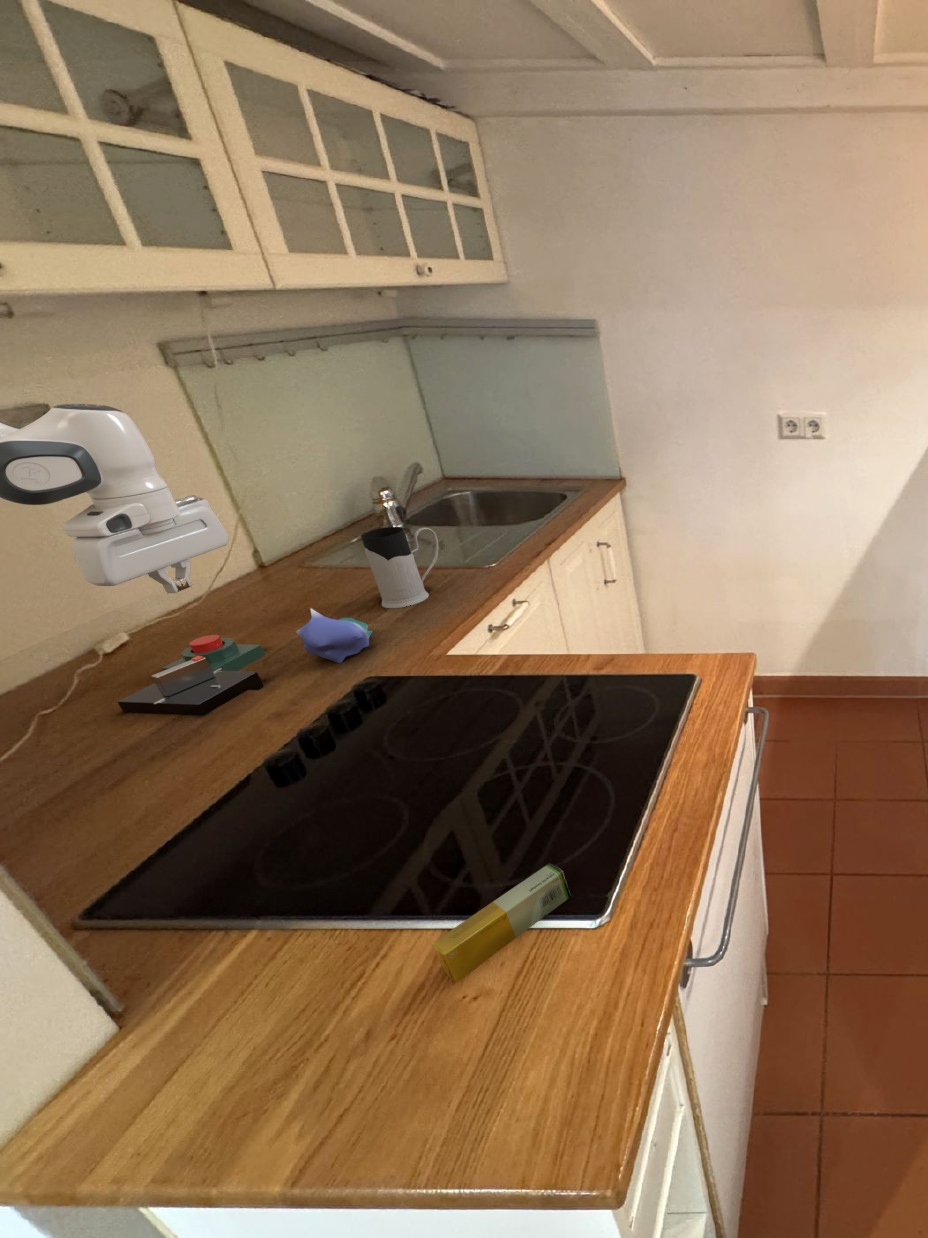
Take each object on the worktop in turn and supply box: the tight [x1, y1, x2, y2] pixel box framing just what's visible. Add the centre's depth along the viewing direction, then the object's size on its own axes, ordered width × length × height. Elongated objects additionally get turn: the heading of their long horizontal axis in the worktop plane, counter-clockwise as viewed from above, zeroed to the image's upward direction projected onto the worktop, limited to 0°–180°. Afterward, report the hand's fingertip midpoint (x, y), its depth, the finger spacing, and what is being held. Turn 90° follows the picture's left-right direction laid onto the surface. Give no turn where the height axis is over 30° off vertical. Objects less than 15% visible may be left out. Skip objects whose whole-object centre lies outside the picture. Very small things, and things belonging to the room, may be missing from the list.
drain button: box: [188, 634, 223, 653], centre depth 117 cm, size 4×4×2 cm
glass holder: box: [360, 526, 440, 609], centre depth 143 cm, size 9×14×15 cm, turn 146°
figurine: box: [295, 608, 374, 664], centre depth 120 cm, size 13×12×9 cm
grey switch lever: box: [151, 656, 215, 697], centre depth 106 cm, size 6×2×4 cm, turn 159°
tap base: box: [117, 668, 265, 717], centre depth 108 cm, size 14×11×3 cm
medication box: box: [431, 863, 572, 983], centre depth 65 cm, size 12×3×4 cm, turn 144°
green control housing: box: [161, 637, 266, 671], centre depth 118 cm, size 10×9×4 cm
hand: (180, 590), depth 113 cm, fingers closed
